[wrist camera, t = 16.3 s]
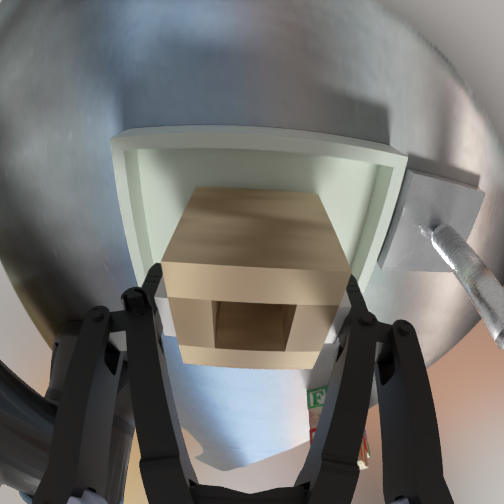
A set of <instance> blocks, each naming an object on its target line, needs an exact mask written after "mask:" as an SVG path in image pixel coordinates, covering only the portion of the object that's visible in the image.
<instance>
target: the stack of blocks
mask: <svg viewBox="0 0 504 504" xmlns="http://www.w3.org/2000/svg"><path fill="white" fill-rule="evenodd" d="M327 390H328V386H326V387H322V388H318V389H314V390H310V391H307V405H308V410H309V424H310V431H309V432H310V447H311V444H312V441H313V438H314V435H315V431H316V428H317V425H318V422H319V418H320V415H321V411H322V408H323V404H324V401H325V397H326V393H327ZM369 457H370V451H369V445H368V442H367V436H366V431H365V429H364V434H363V439H362V443H361V448H360V452H359V456H358V461H357V464H358V465H359V467H360V470H361V469H365V468H368V467H369V466H368V458H369Z"/></svg>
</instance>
